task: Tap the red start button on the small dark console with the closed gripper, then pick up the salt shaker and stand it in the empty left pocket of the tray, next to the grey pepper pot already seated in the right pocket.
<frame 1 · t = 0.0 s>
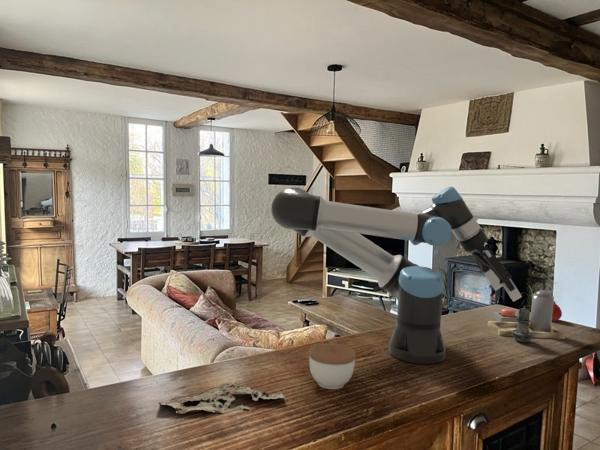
hand: (507, 293, 135), 15 cm above the counter, tool tilted 35°, fingers open, 13 cm apart
driftwood: (223, 406, 93), on the counter
lidded jar: (330, 384, 104), on the counter
start button: (507, 314, 157), point 3 cm above the counter, slide at 0.0 cm
onion: (551, 323, 160), on the counter
console: (507, 323, 157), on the counter
pepper pot: (539, 332, 145), point 1 cm above the counter, touching tray
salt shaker: (521, 344, 136), on the counter
tray: (524, 334, 145), on the counter
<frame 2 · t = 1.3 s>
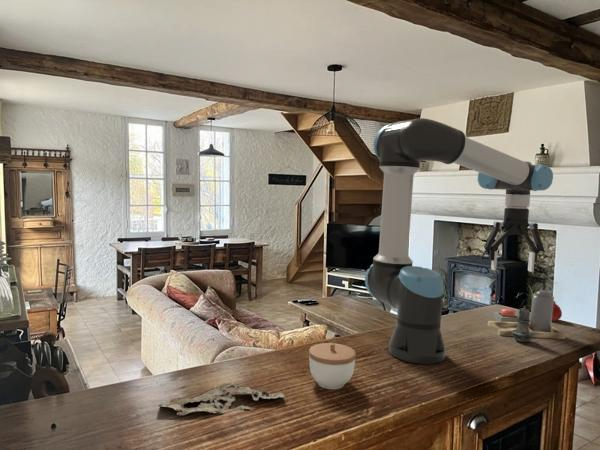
hand: (512, 270, 155), 19 cm above the counter, tool pointing down, fingers open, 12 cm apart
nothing on the counter moved.
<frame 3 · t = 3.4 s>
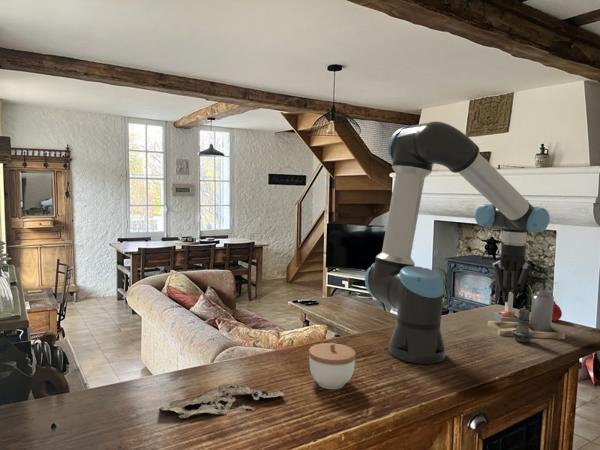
hand: (508, 311, 157), 4 cm above the counter, tool pointing down, fingers closed
start button: (507, 316, 157), point 3 cm above the counter, slide at 0.7 cm
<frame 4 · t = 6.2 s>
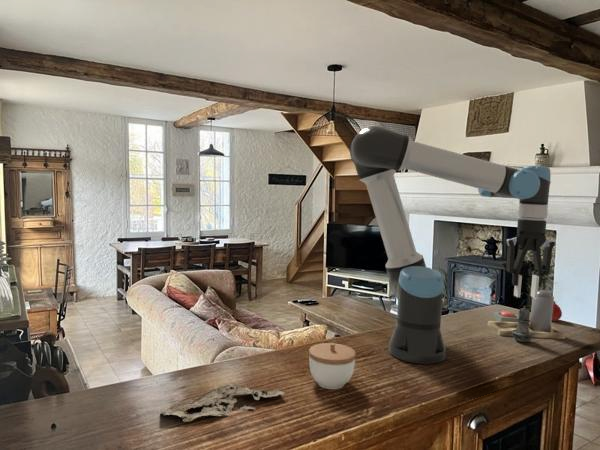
hand: (525, 296, 135), 15 cm above the counter, tool pointing down, fingers open, 4 cm apart
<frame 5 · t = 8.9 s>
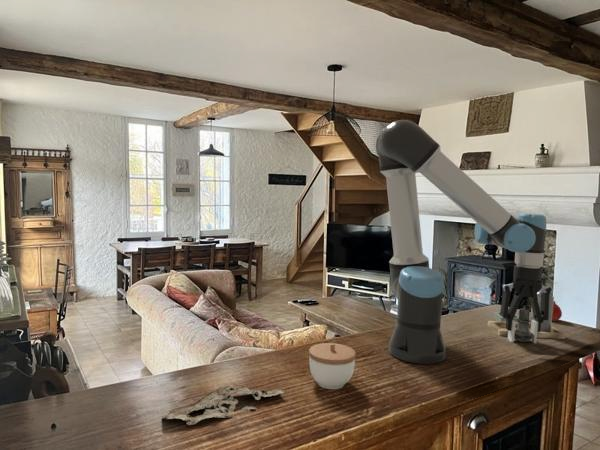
hand: (521, 341, 136), 1 cm above the counter, tool pointing down, fingers closed on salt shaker, 6 cm apart
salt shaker: (521, 344, 136), on the counter, touching gripper
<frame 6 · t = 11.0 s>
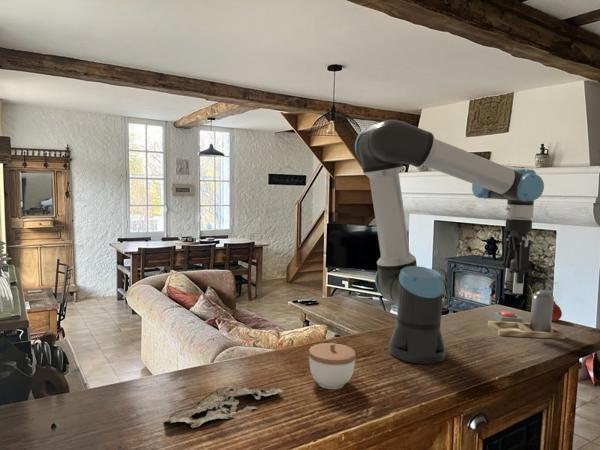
hand: (513, 290, 144), 14 cm above the counter, tool pointing down, fingers closed on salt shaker, 6 cm apart
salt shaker: (513, 293, 144), point 13 cm above the counter, touching gripper
when the fingers open (3 cm above the counter, at t = 13.2 s): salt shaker drops 1 cm, resting on tray.
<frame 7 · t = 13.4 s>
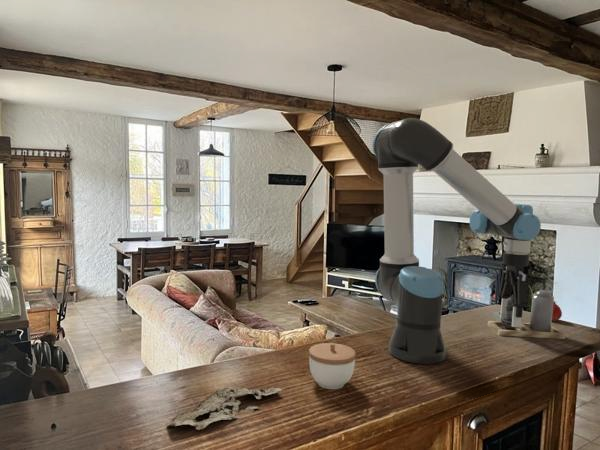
hand: (510, 322, 145), 4 cm above the counter, tool pointing down, fingers open, 8 cm apart
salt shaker: (509, 331, 146), point 1 cm above the counter, touching tray
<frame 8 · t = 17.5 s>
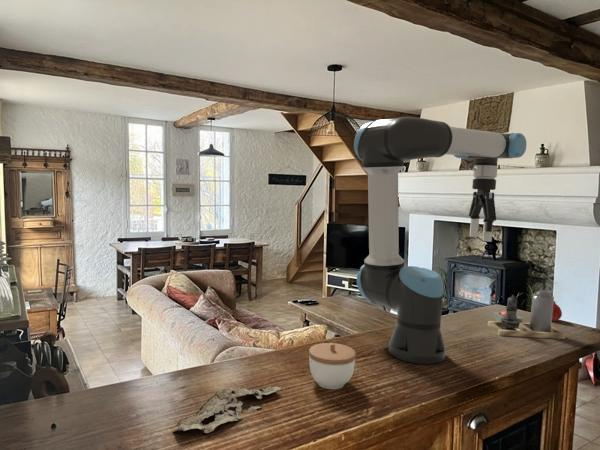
hand: (479, 239, 159), 29 cm above the counter, tool pointing down, fingers open, 13 cm apart
at the end: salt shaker 0.0 cm from the target spot on the tray, point 0.8 cm above the tray's base; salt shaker tilted 0°; the gripper is holding nothing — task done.
